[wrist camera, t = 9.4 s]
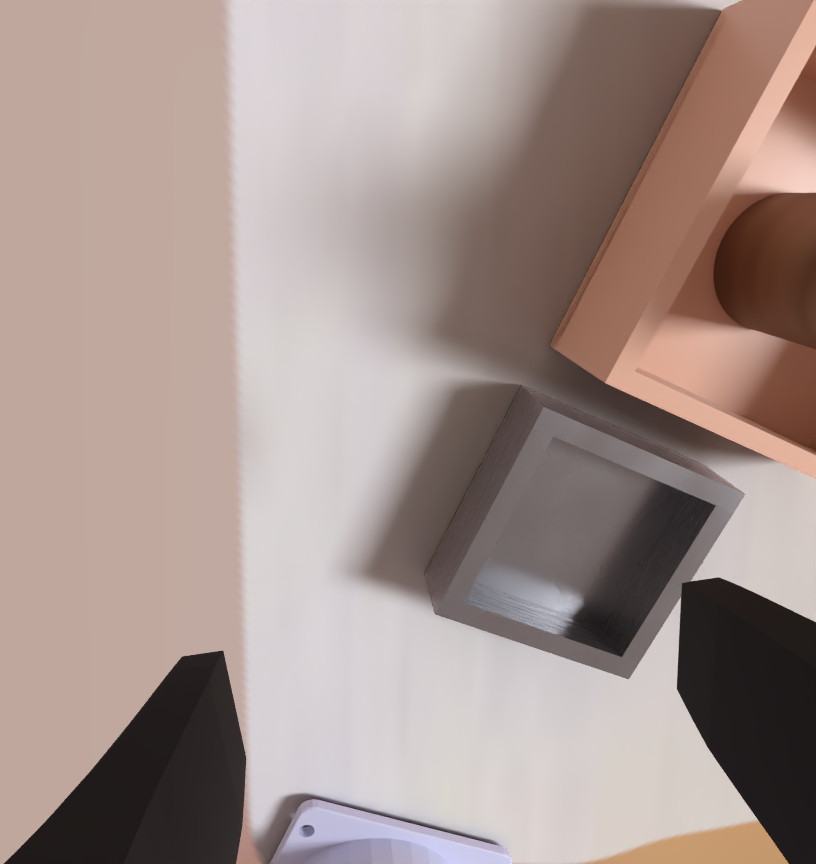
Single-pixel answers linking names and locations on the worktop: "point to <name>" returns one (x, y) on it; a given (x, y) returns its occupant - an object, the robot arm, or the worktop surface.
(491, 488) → the metal socket
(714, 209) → the terracotta bin
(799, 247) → the walnut strut
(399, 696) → the worktop surface
